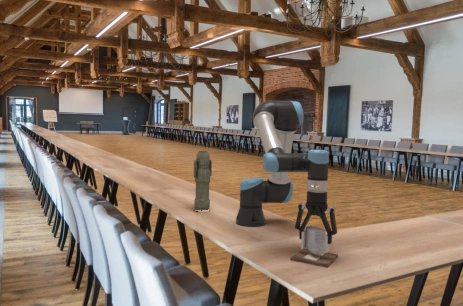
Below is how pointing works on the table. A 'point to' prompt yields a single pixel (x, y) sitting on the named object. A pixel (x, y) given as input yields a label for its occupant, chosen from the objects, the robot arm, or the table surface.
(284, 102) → the robot arm
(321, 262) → the pad
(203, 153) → the green robed figurine
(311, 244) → the medicine box
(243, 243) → the table surface
